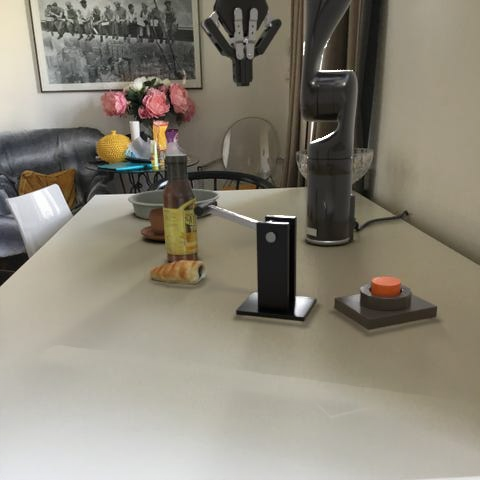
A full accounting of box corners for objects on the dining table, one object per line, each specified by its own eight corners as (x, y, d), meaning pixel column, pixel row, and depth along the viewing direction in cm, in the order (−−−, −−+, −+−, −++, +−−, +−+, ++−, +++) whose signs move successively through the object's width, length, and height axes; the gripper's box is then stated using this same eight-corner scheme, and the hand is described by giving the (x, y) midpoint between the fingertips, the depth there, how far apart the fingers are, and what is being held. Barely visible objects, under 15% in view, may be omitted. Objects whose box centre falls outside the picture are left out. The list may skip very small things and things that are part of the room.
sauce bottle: (193, 265, 107) (187, 156, 99) (162, 264, 108) (153, 156, 100) (202, 256, 113) (197, 152, 105) (172, 255, 114) (165, 152, 106)
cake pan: (218, 220, 142) (217, 202, 140) (121, 223, 143) (119, 205, 141) (222, 202, 165) (221, 186, 163) (138, 204, 165) (137, 189, 164)
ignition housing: (397, 300, 86) (399, 275, 85) (436, 321, 79) (439, 293, 77) (333, 312, 83) (334, 286, 81) (368, 334, 75) (370, 306, 73)
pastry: (145, 286, 96) (143, 264, 95) (158, 274, 102) (157, 254, 101) (198, 289, 94) (197, 266, 93) (209, 276, 100) (208, 255, 99)
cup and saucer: (131, 242, 124) (128, 214, 122) (158, 230, 135) (156, 204, 132) (179, 246, 120) (177, 217, 118) (203, 233, 130) (202, 206, 128)
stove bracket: (236, 318, 82) (232, 224, 76) (253, 300, 88) (251, 212, 83) (303, 326, 78) (305, 227, 73) (316, 306, 85) (318, 215, 80)
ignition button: (389, 286, 82) (389, 275, 81) (406, 295, 78) (407, 283, 78) (365, 290, 80) (365, 278, 80) (381, 299, 77) (382, 287, 76)
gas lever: (191, 217, 79) (195, 201, 78) (207, 209, 84) (210, 194, 83) (278, 248, 77) (283, 232, 76) (289, 238, 81) (293, 223, 80)
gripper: (204, -51, 77) (210, 87, 84) (292, -46, 81) (291, 84, 88) (188, -39, 84) (195, 88, 90) (270, -36, 88) (271, 85, 94)
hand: (243, 86), depth 89 cm, fingers closed
